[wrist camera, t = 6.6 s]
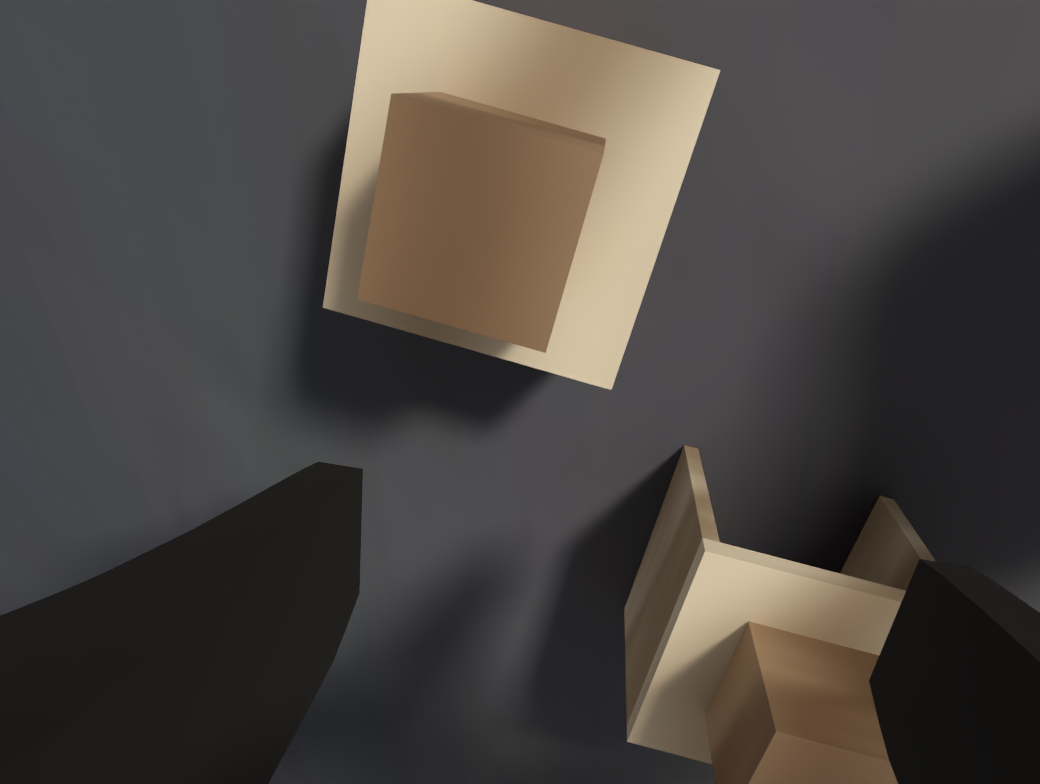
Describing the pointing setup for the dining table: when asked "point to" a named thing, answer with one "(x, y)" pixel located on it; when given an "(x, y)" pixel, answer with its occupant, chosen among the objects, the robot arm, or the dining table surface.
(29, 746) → the robot arm
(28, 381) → the dining table surface
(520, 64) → the cover
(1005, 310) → the dining table surface
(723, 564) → the cover
